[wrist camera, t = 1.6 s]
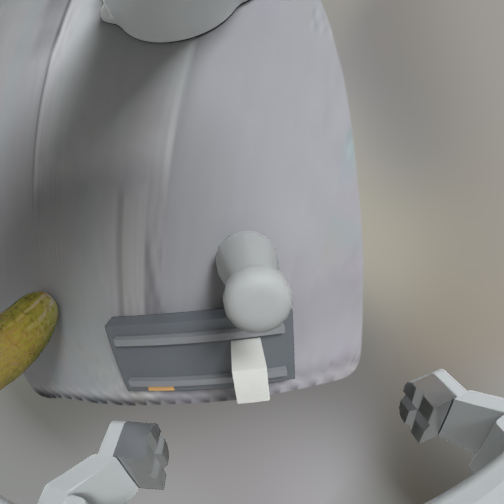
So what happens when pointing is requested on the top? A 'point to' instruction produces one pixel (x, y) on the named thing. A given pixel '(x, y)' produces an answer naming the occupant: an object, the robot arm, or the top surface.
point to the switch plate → (191, 350)
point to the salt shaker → (253, 282)
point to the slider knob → (249, 370)
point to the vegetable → (25, 333)
